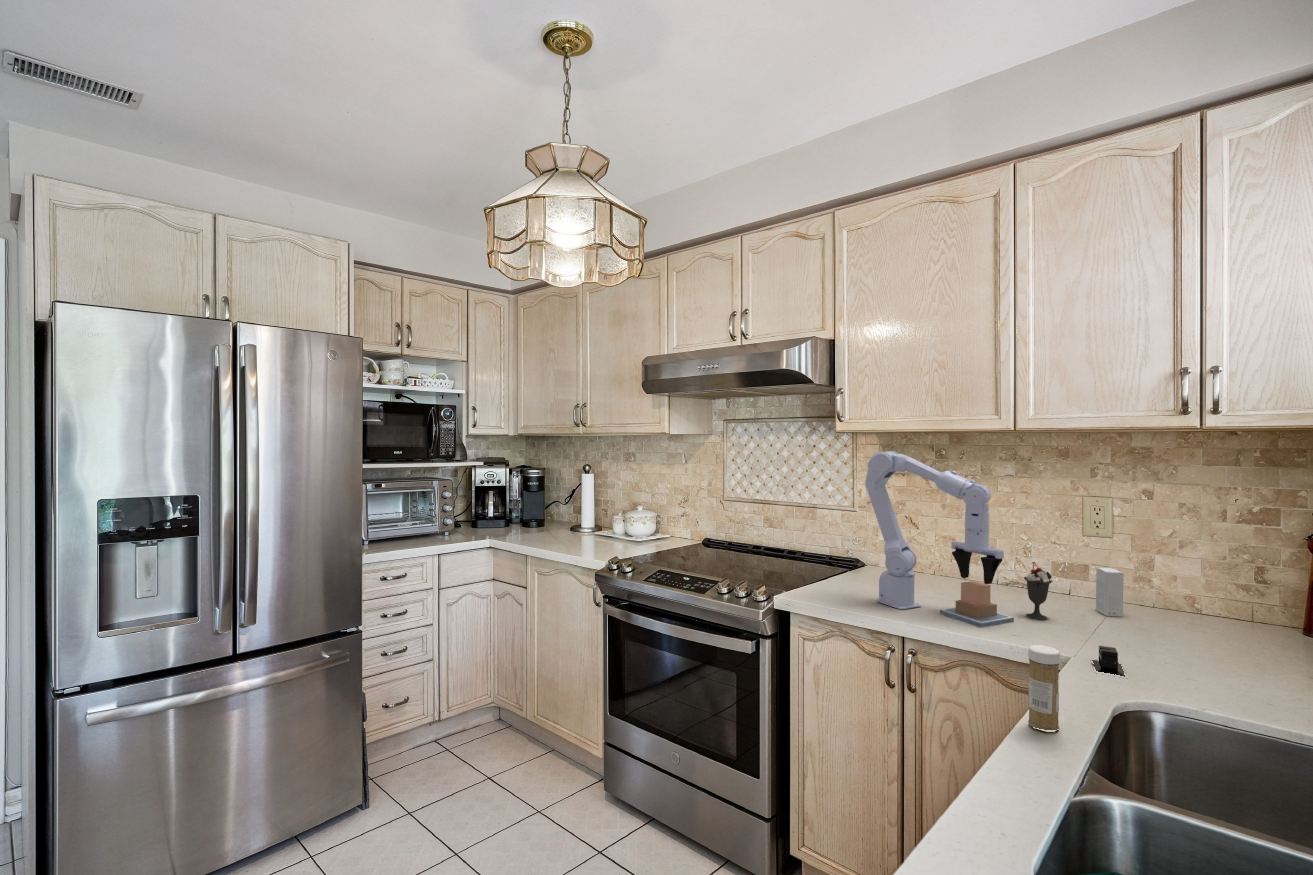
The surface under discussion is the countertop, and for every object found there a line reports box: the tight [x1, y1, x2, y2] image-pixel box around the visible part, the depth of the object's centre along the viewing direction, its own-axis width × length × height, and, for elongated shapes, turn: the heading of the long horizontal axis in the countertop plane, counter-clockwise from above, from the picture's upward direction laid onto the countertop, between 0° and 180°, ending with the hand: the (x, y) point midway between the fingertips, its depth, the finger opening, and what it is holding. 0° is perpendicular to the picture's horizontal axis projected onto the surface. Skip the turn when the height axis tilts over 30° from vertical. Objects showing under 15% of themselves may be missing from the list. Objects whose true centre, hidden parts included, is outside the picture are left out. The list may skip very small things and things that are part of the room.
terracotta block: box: [960, 580, 992, 606], centre depth 169 cm, size 5×5×5 cm
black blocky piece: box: [1092, 645, 1125, 677], centre depth 134 cm, size 12×7×5 cm, turn 151°
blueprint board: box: [939, 599, 1015, 628], centre depth 169 cm, size 13×12×4 cm
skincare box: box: [1095, 567, 1124, 618], centre depth 173 cm, size 6×4×12 cm
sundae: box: [1023, 561, 1053, 621], centre depth 169 cm, size 7×7×15 cm
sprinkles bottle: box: [1027, 644, 1061, 730], centre depth 107 cm, size 5×5×14 cm
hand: (976, 580), depth 169 cm, fingers open, 7 cm apart
